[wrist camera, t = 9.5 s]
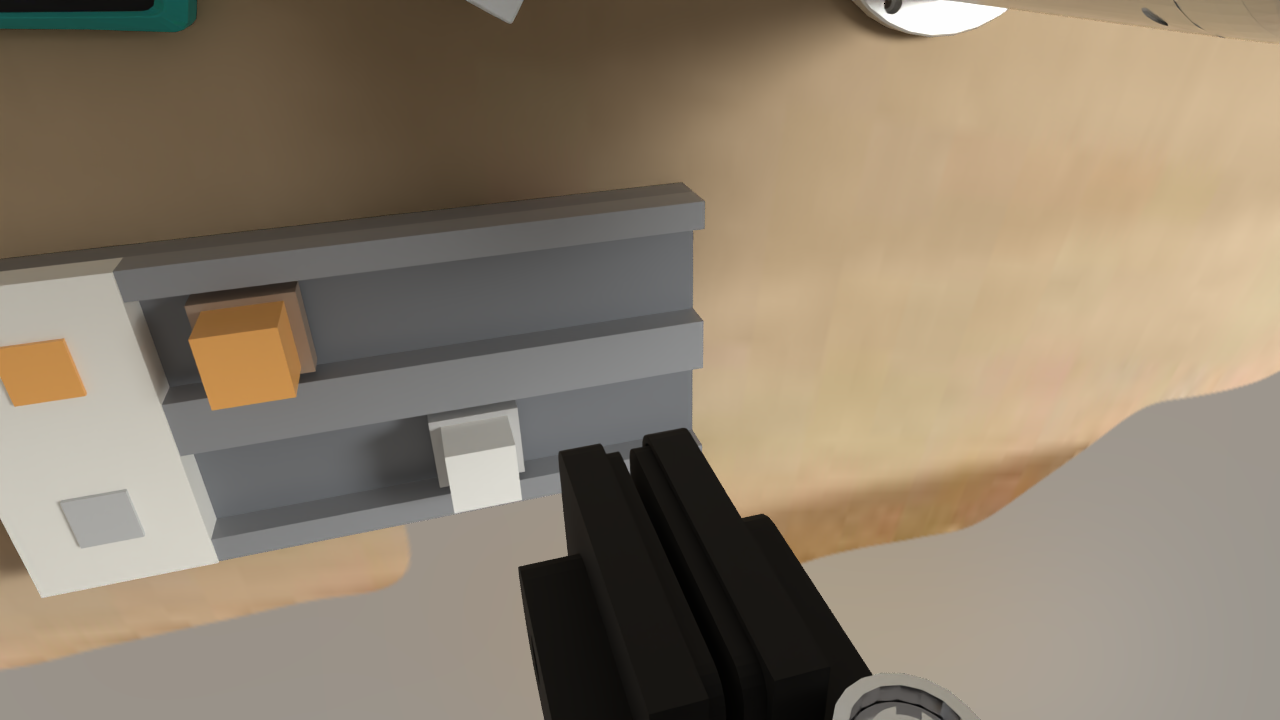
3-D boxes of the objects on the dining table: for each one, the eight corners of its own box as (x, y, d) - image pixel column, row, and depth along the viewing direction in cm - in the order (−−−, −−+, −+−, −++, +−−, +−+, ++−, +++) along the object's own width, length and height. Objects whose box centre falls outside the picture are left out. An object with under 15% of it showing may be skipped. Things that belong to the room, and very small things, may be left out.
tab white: (513, 394, 38) (526, 437, 35) (521, 457, 40) (533, 503, 37) (426, 409, 37) (431, 454, 34) (438, 473, 39) (443, 521, 36)
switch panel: (682, 182, 37) (707, 203, 35) (683, 433, 44) (703, 468, 41) (-73, 267, 30) (-118, 301, 28) (65, 550, 37) (40, 601, 34)
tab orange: (297, 280, 33) (289, 317, 30) (317, 358, 35) (311, 401, 31) (190, 294, 32) (170, 334, 29) (215, 373, 34) (199, 419, 30)
